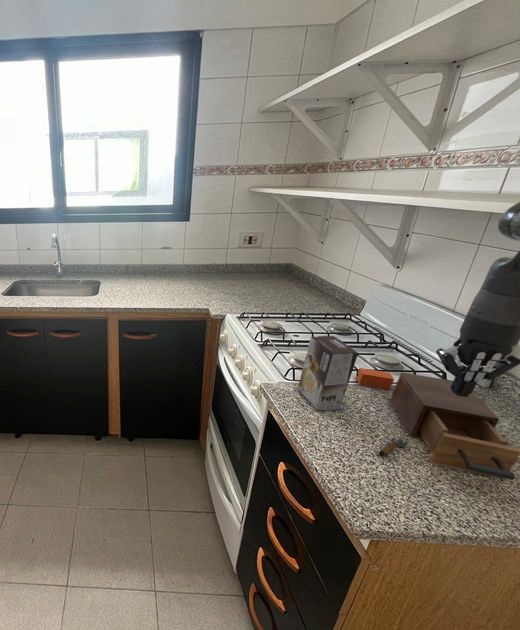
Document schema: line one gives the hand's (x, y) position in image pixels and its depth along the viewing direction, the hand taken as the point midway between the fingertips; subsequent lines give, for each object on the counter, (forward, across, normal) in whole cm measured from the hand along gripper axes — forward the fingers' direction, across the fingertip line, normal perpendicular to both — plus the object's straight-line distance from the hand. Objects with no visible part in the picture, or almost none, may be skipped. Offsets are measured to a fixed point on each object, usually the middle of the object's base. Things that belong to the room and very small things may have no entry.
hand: (459, 394), depth 69 cm
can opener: (+13, -10, -3) cm, 17 cm away
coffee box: (+14, -18, +13) cm, 26 cm away
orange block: (+13, -1, +23) cm, 26 cm away
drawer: (+12, +1, -4) cm, 13 cm away
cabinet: (+13, +4, +7) cm, 16 cm away
